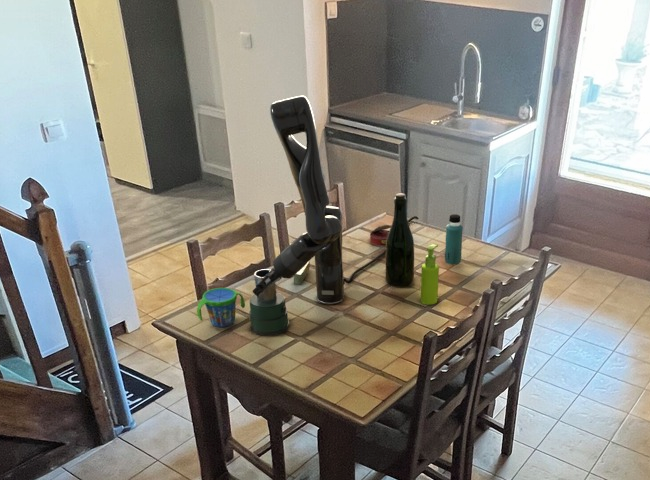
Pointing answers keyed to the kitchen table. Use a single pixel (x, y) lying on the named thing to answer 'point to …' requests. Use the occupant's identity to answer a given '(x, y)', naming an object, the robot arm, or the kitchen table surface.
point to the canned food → (379, 235)
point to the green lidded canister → (268, 316)
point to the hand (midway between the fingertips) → (262, 287)
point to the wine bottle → (400, 247)
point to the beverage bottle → (453, 240)
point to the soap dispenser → (429, 278)
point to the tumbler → (269, 292)
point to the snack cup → (220, 306)
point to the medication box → (301, 274)
